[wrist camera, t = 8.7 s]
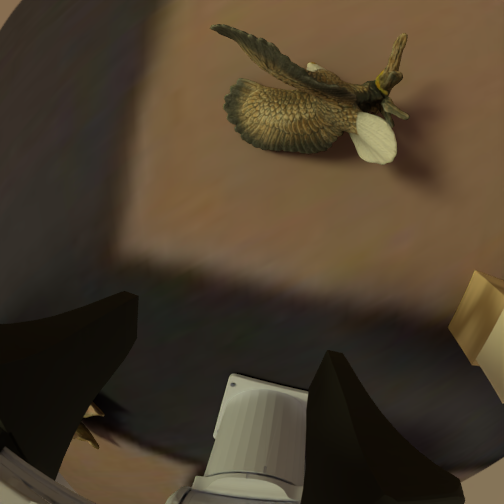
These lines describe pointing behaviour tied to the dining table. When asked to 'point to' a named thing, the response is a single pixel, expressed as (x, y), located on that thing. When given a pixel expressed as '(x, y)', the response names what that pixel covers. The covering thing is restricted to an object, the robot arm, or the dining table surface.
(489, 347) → the cream block
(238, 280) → the dining table surface
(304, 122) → the eagle figurine
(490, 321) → the oak base block
